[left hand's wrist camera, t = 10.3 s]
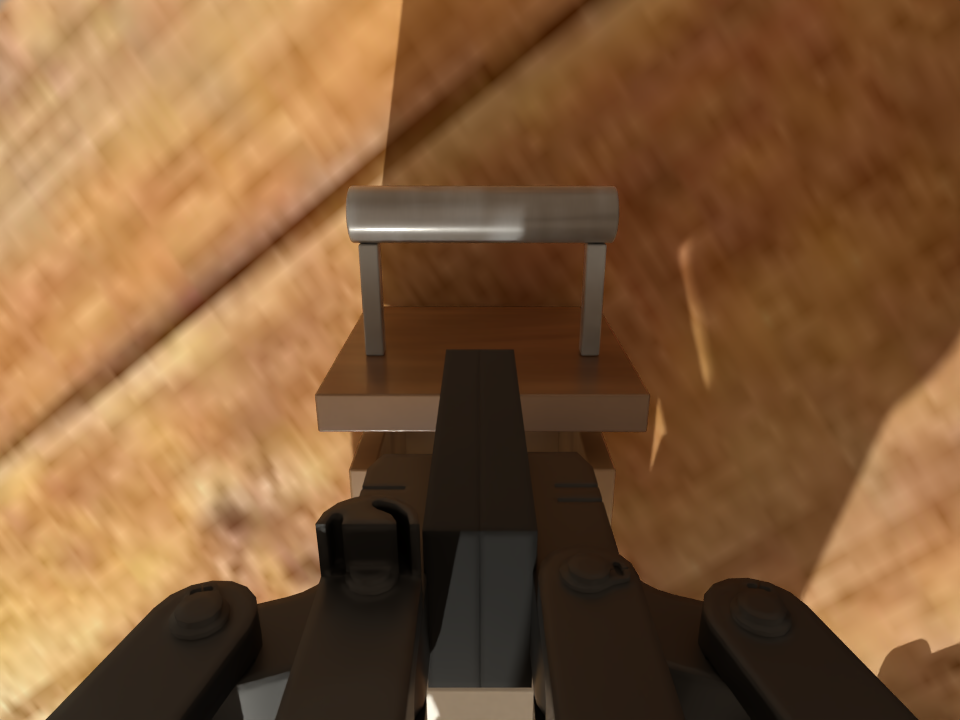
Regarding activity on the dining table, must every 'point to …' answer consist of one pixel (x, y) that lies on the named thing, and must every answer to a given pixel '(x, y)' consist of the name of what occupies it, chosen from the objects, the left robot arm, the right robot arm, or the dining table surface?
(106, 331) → the dining table surface
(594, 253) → the drawer
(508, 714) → the cabinet
